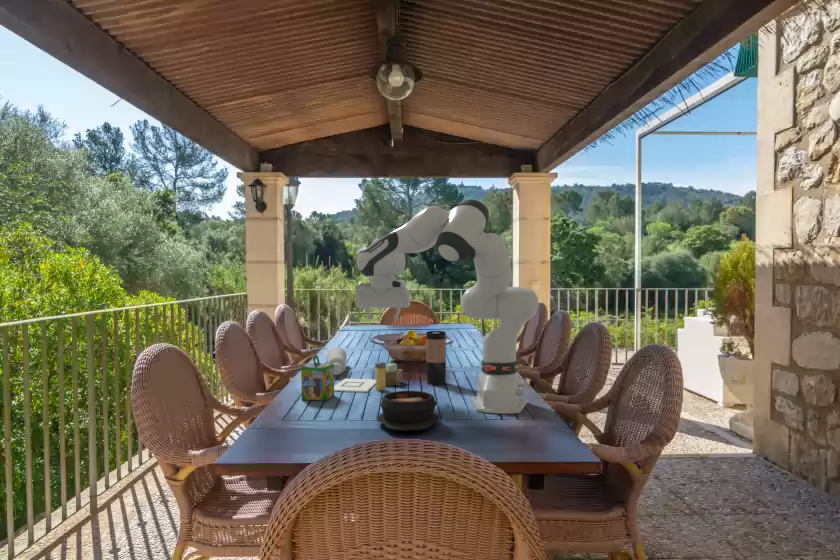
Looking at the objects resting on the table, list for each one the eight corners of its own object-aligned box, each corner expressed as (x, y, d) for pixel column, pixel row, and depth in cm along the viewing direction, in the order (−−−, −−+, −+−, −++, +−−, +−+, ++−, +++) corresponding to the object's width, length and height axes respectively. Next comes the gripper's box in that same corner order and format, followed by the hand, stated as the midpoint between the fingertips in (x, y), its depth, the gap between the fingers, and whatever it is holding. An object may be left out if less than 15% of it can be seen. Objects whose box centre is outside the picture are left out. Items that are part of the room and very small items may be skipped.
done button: (395, 380, 229) (395, 365, 229) (385, 380, 230) (385, 365, 230) (397, 378, 233) (397, 363, 233) (387, 378, 234) (387, 363, 234)
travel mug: (446, 381, 235) (446, 330, 235) (445, 385, 228) (445, 333, 227) (427, 381, 236) (427, 330, 235) (425, 385, 229) (425, 333, 228)
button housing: (399, 385, 228) (398, 372, 227) (381, 385, 229) (380, 372, 229) (402, 381, 235) (402, 369, 234) (384, 381, 236) (384, 368, 235)
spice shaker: (384, 391, 219) (384, 364, 219) (374, 390, 220) (374, 363, 219) (386, 388, 223) (386, 362, 222) (376, 388, 223) (376, 362, 223)
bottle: (322, 358, 271) (320, 373, 242) (333, 341, 271) (333, 354, 242) (339, 368, 273) (339, 384, 243) (350, 352, 273) (351, 366, 243)
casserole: (378, 413, 188) (378, 387, 188) (437, 412, 189) (437, 386, 188) (374, 437, 163) (374, 407, 163) (442, 436, 164) (442, 406, 163)
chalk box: (326, 401, 204) (325, 358, 203) (300, 400, 206) (300, 357, 205) (335, 395, 213) (334, 354, 212) (311, 394, 215) (310, 353, 214)
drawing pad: (366, 392, 217) (366, 390, 217) (329, 391, 219) (329, 389, 219) (379, 381, 237) (379, 379, 236) (344, 380, 239) (344, 378, 239)
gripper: (352, 283, 219) (353, 320, 220) (407, 283, 216) (408, 321, 216) (357, 282, 225) (358, 318, 226) (410, 281, 222) (411, 318, 223)
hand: (383, 319), depth 221 cm, fingers open, 8 cm apart
